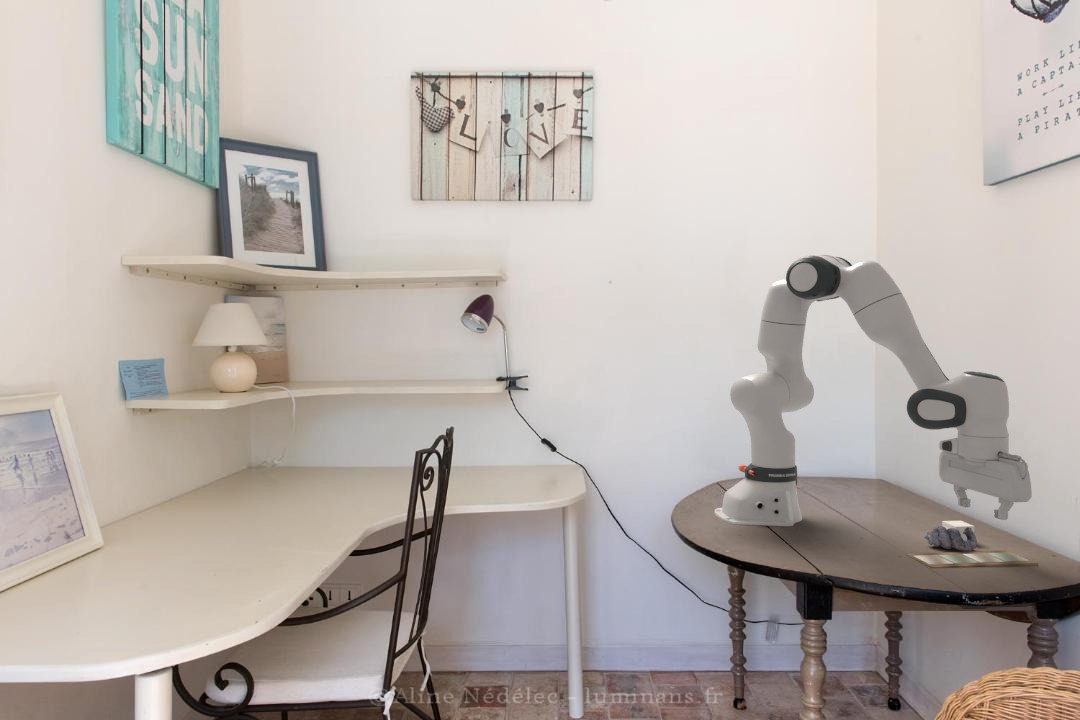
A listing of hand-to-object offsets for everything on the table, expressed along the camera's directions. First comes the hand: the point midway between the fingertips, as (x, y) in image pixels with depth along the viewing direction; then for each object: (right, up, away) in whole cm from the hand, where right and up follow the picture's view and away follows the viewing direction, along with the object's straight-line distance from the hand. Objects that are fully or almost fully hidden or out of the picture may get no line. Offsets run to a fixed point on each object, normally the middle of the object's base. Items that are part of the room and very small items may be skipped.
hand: (981, 512), depth 130 cm
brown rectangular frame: (-3, -10, 0) cm, 11 cm away
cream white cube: (+3, -10, +12) cm, 16 cm away
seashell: (+2, -7, +5) cm, 9 cm away
